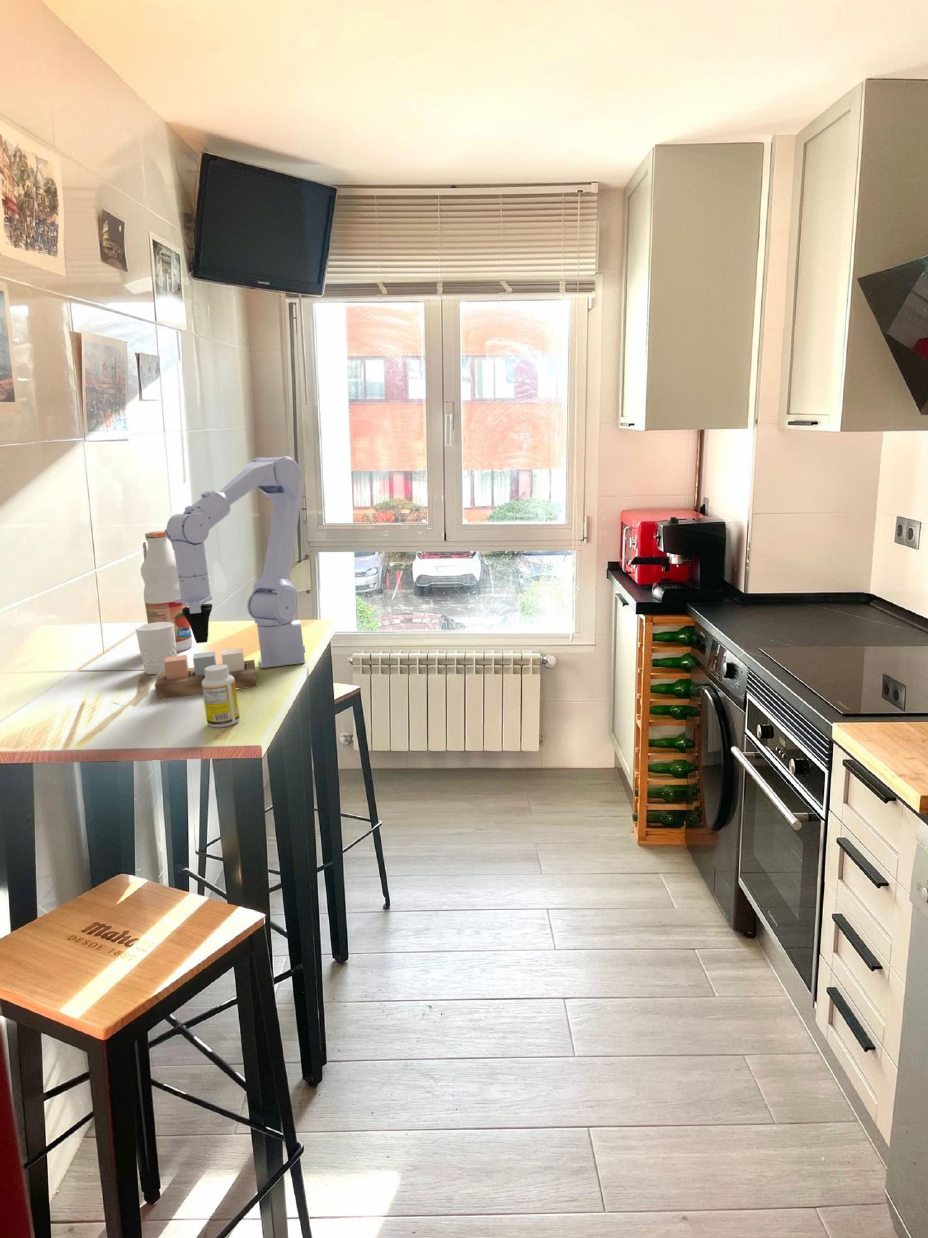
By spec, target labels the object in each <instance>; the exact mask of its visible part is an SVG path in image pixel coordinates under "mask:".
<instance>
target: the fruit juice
mask: <svg viewBox="0 0 928 1238" xmlns="http://www.w3.org/2000/svg"><path fill="white" fill-rule="evenodd" d="M144 537H145V541H146V542H147V552H146V557H145V559H144V561H143V562H142V564H141V567H140V575H141V578H142V579H143V582H144V588H143V600H144V608H145V613H146V620H147V624H149V623H156V622H172V623H174V631H175V641H176V653H179V652H181V651H187V650H189V649H191V648H192V646H193V638H192V629H191V626H190V624H189V622H188V620H187V619H186V617H185V616H184V615H183V613H182V610H183V609H184V608H186V607H188V606H187V605H184V604H182V603H175V599H176V598H181V595H180V588H179V581H178V574H177V567H176V560H175V555H173V554H172V552H171V550H170V548H169V545H168V540H167V539H168V538H167V537H166V534H165V531H164V530H160V531H149V532H146V533H145V534H144Z"/></svg>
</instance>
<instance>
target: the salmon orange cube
mask: <svg viewBox="0 0 928 1238" xmlns="http://www.w3.org/2000/svg"><path fill="white" fill-rule="evenodd" d="M164 665H165V671H166V678H167V680H169V679H177V678H185V677H189V670H188V668H189V665H188V657H187V654H183V655H177V656H173V657H166V658H165V661H164Z"/></svg>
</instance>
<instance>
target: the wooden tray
mask: <svg viewBox="0 0 928 1238" xmlns="http://www.w3.org/2000/svg"><path fill="white" fill-rule="evenodd" d="M255 663H256V662H255V660H254V659H252V660H244V666H245V670H240V671H232V672H229V675H232V676H233V677H234V680H235V688H241V689H247V688H246V687H249V688H253V687H252V686H256V687H257V685H256V684H257V672H256V671H257V670H256V664H255ZM216 665H218V664H217V663H216ZM188 670H189V677H185V678H177V679H169V680H167V678H166V671H160V672H159V673H158V674H157V675H156V676H157V677H156V679H155V682H154V689H155V696H156V700H163V698H165V699H171V697H172V698H179V697H186V696H194V694H195V695H201V694H202V693H203V690H202V681H203V679H205V678H206V677H205V675H201V676H195V669H194V666H193V667H188ZM202 695H203V694H202Z"/></svg>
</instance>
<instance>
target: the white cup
mask: <svg viewBox="0 0 928 1238" xmlns="http://www.w3.org/2000/svg"><path fill="white" fill-rule="evenodd" d="M135 632H136V637H137V642H138V643H137V644H138V648H139V652H140V657H141V661H142V663H143V668H144V673H145V674H146V673H148V674H147V675H151V674H156V675H158V673H159V672H160V671H165V665H164V661H165V658H166V657H173V656H178V655H177V652H176V641H175V631H174V623H172V622H156V623H149V624H148V623H145V624H142V625H139V626H137V627H136V628H135Z"/></svg>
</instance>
